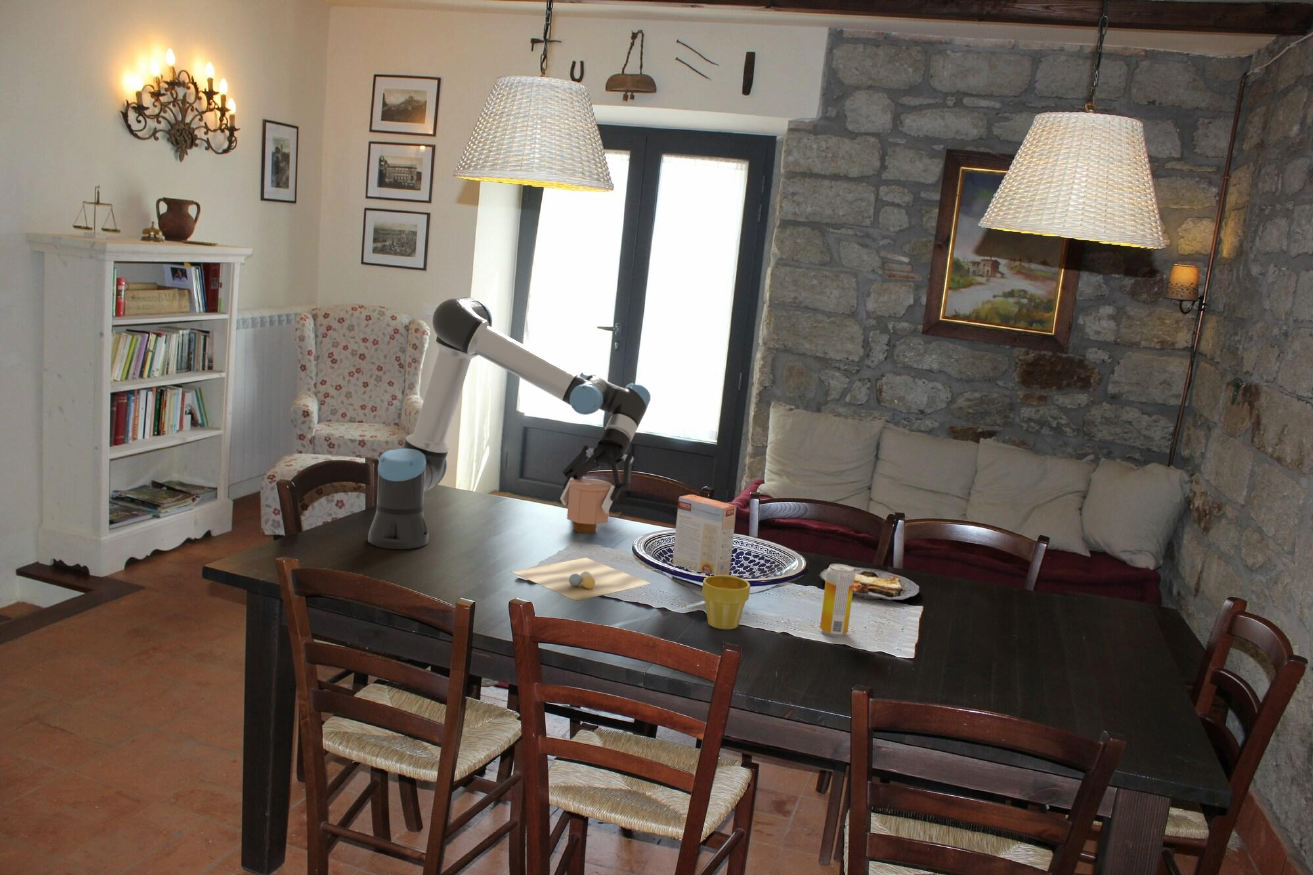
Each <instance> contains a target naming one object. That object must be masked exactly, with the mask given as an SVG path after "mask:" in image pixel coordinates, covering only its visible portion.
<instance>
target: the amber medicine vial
mask: <svg viewBox="0 0 1313 875" xmlns="http://www.w3.org/2000/svg"><path fill="white" fill-rule="evenodd" d="M852 567H853V566H850V565H848V564H842V563H831V564H830V565H829V567H828V568H826V569H827V574H826V582H825V581H824V583H825V584H824V592H823V602H822V608H821V616H820V623H819V624H820V625H819V628H820V630H821V632H822V633H823V634H825V635H827V636H830V637H833V638H834V637H835V638H838V637H839V638H840V637H844V636H846V634H847V633H848V631H849V624H850V617H851V610H852V609H851V608H852V601H853V595H854V594H853V587H854V579H855V573H854V568H852Z"/></svg>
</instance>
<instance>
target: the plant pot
mask: <svg viewBox="0 0 1313 875" xmlns="http://www.w3.org/2000/svg"><path fill="white" fill-rule="evenodd" d="M750 591H751V583H750V582H749V581H748V580H746V579H744V578H741V577H737V576H733V575H729V576H727V575H714V576H708V577H706V578H704V580H703V587H702V592H701V594H702V597H703V598H704V601H705V608H706V617H707V624H708V625H709V626H711V627H712V628H715V629H719V630H733V629H734V630H735V629H736V628H738V627H739V624H740V620H741V617H742V614H743V611H744V607H745V604H746V602H748V600H749V598H750Z"/></svg>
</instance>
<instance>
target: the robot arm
mask: <svg viewBox="0 0 1313 875" xmlns="http://www.w3.org/2000/svg"><path fill="white" fill-rule="evenodd" d="M432 327H433V331H434V333H435V334H436V335H437V336H436V339H435V343H436V345H437V347H438V349H439V350H438V353H437V356H436V359H435V362H434V366H433V369H432V372H431V376H430V379H429V381H428V385H427V389H426V391H425V394H424V398H423V402H422V405H421V408H420V412H419V414H418V418H417V421H416V424H415V428H414V431H413V433H411V434H409V435H407V436H406V437H405V440H404V444H403V446H402V448H395V449H390V450H387V451H385V452H383V453H382V454H381V455H380V456H379V458H378V459H379V460H378V465H377V472H378V473H377V492H376V493H377V494H376V510H375V511H376V512H375V514H374V517H373V521H372V523H371V525H370V528H369V530H368V536H367V537H368V538H367V542H368V543H369V544H370V543H371V544H370V545H371V546H374V545H375V546H374V547H377V548H383V549H387V550H388V549H390V550H410V549H417V548H421V547H425V546H426V545H428V543H429V537H430V536H429V531H428V530H429V529H428V526H427V523H426V520H425V519H426V518H425V516H424V503H425V502H424V501H425V500H424V498H425V497H424V496H425V493H426V492H427V491H429V490H431V489H432V488H434V487H435V488H436V487H437V485H438V484H440V482H441V481H442V480H443V478H444V477H445V475H446V472H447V466H448V463H447V456H448V453H449V447H448V445H447V443H446V440H447V437H448V434H449V432H450V428H451V424H452V421H453V418H454V415H455V411H456V408H457V404H458V402H459V399H460V395H461V392H462V389H463V386H464V382H465V379H466V376H467V373H468V370H469V367H470V364H471V361H472V359H474V358H475V357H478V356H479V357H481V358H483V359H484V360H487V361H489V362H491V363H493V364H494V365H496V366H497V367H500V368H502V369H504V370H505V371H507V372H509V373H511V374H513V375H515V376H517V377H518V378H521V379H522V380H524V381H526V382H527V383H529V384H531V385H533V386H535V387H537V388H538V389H540V390H542V391H544V392H546V393H548V394H549V395H551V396H553V397H555V398H557V399H559V400H561V401H562V402H564V403H566V404H568V405H569V406H571V408H572V409H573V410H574V412H576V413H577V414H579V415H591V414H594V413H596V412H598V410H600V411H603V412H605V413H608V414H610V415H611V416H610V418H608V419H609V420H608V422H607V424H606V426H605V428H604V430H602V431H603V432H602V434H601V435H600V438H599V440H598V442H597V445H596V447H594V448H591V447H589V446H588V445H584V446H583V447H582V449H581V452H580V453H579V454H578V455H577V456H576V457H575V458H574V459H573V460H572V461H571V462H570V463H569V464H568V465H567V467H566V468H564V469H563V470H562V475H563V476H564V479H565V483H564V484H563V486H562V489H563V492H562V494H561V496H560V499H559V500H560V501H561V503H562V505H563V506H567V505H568V500H569V487H570V486H569V483H570V480H573V479H582V477H583V476H585V475H586V474H588V473H589V472H591V470H594V469H596V468H598V467H600V468H601V467H603V468H604V467H605V468H607V469H611V470H612V471H611V472H612V477H613V481H614V485H613V484H612V485H611V488H610V490H609V492H608V494H607V496H606V498H605V500H604V502H603V504H602V509H603V511H604V513H608V511H609V512H610V508H611V507H612V504H613V503H614V502H616V501H618V498H619V495H620V494H621V492H622V491H626V492H628V491H630V490H631V481H632V480H631V479H632V466H633V465H634V463H635V457H634V456H633V453H632V452H629V453H628V454H627V452H628V449H629V446H630V445H631V442H632V440H633V439H634V436H635V434H636V432H637V430H638V427H639V425H640V423H641V422H642V419H643V418H644V416H645V413H646V412H647V410H648V406H649V405H650V401H651V394H650V391H649V390H648V389H647V388H646V387H644V386H643V385H642V384H640V383H633V382H632V383H628V384H627V385H626V386H625V387H622V386H619V385H617V384H613V383H611V382H609V381H607V380H605V379H603V378H601V377H598V376H596V374H591V373H588V372H586V371H584V372H581V373H580V374H577V373H575V372H573V371H571V370H570V369H567V368H566V367H565V366H562V365H560V364H559V363H557V362H555V361H554V360H552V359H550V358H548V357H546V356H544V355H542V354H540V353H538V352H537V351H534V350H533V349H531V348H529V347H527V346H525V345H524V344H522V343H520V342H518V341H516V340H515V339H513V338H512V337H509V336H507V335H506V334H504V333H502V332H500V331H498V330H496V329H495V328H493V317H492V314H491V312H490V310H489V308H488V307H487V305H486V304H484V303H483V302H482V301H480V300H478V299H475V298H472V297H468V296H467V297H465V296H464V297H459V298H450V299H446V300H444V301H442V302H441V303H440V304H439V305H438V306H437V307H436V308H435V310H434V312H433V315H432ZM621 462H624V464H623V473H622V474H623V476H622V481H621V477H620V476H621V475H620V473H619V466H618V464H619V463H621Z"/></svg>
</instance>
